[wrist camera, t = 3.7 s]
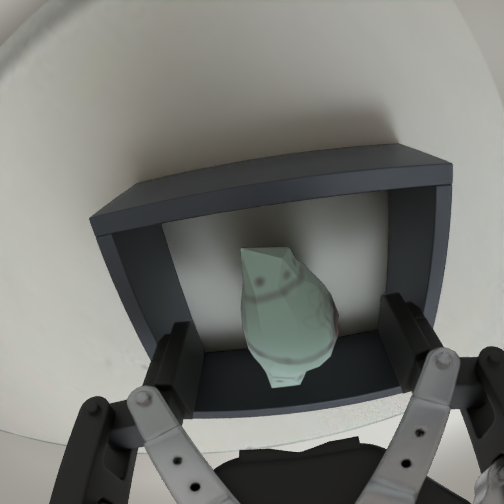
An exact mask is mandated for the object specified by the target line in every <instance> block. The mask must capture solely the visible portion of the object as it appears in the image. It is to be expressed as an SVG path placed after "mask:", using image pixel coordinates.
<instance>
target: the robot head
mask: <svg viewBox="0 0 504 504" xmlns="http://www.w3.org/2000/svg"><path fill="white" fill-rule="evenodd" d="M240 252H241V262H242V273H243V288H242V300H241V316H242V327H243V331H244V335H245V338H246V342H247V345H248V349H249V350H250V352H251V354H252V355H253V357H254V358H255V359H256V360H257V361H258V362H259V363H260V364H261V366H262V367H263V369H264V370H265V372H266V374H267V376H268V379H269V382H270V384H271V387H272V388H277V387H286V386H294V385H300V384H301V382H302V380H303V378H304V375H305V373H306V371H308V370H311V369H314V368H317V367H319V366H320V365H322V364H323V363H324V362H325V361H326V360H327V359H328V358H329V357H330V356H331V354H332V351H333V348H334V345H335V343H336V340H337V337H338V334H339V329H338V318H339V314H338V311H337V309H336V306H335V303H334V301H333V298H332V296H331V294H330V292H329V291H328V289H327V288H326V287H325V285H324V284H323V283H322V282H321V281H320V280H319V279H318V278H317V277H316V276H315V275H314V274H313V273H312V272H311V271H310V270H309V269H308V268H307V267H306V266H305V265H304V264H303V263H301V262H299V261H297V260H296V259H295V257H294V255H293V254H292V252H291V250H290V248H289V247H267V248H240Z"/></svg>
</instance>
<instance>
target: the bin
mask: <svg viewBox="0 0 504 504" xmlns="http://www.w3.org/2000/svg"><path fill="white" fill-rule="evenodd" d="M452 180H453V164H452V163H450V162H447V161H445V160H442V159H440V158H437V157H435V156H432V155H430V154H427V153H424V152H422V151H419V150H416V149H413V148H410V147H408V146H405V145H402V144H384V145H370V146H357V147H346V148H336V149H326V150H317V151H309V152H301V153H293V154H286V155H279V156H272V157H266V158H259V159H253V160H247V161H241V162H235V163H230V164H224V165H219V166H214V167H208V168H203V169H198V170H194V171H189V172H184V173H180V174H175V175H171V176H166V177H162V178H157V179H153V180H149V181H145V182H141V183H137V184H135V185H133V186H132V187H131V188H129V189H128V190H126V191H125V192H124V193H122V194H121V195H119V196H118V197H117V198H115V199H114V200H112V201H111V202H110V203H108V204H107V205H106V206H104V207H103V208H102V209H100V210H99V211H98V212H96V213H95V214H94V215H92V216H91V217H90V218H89V220H90V223H91V226H92V229H93V231H94V234H95V236H97V237H96V240H97V242H98V245H99V248H100V250H101V253H102V256H103V258H104V261H105V263H106V266H107V268H108V271H109V273H110V276H111V278H112V280H113V283H114V285H115V287H116V290H117V292H118V294H119V297H120V299H121V301H122V303H123V305H124V308H125V310H126V312H127V314H128V316H129V318H130V320H131V323H132V325H133V327H134V329H135V331H136V333H137V335H138V337H139V339H140V341H141V343H142V345H143V347H144V349H145V351H146V352H147V354H148V356H149V358H150V360H152V357H153V354H154V353H155V349H156V346H157V343H158V342H159V341H160V339H161V338H162V337H163V336H164V335H165V334H170V333H171V331H172V328H173V325H174V323H175V322H180V321H193V320H192V318H191V315H190V312H189V309H188V306H187V304H186V301H185V298H184V295H183V292H182V289H181V286H180V283H179V280H178V277H177V274H176V271H175V268H174V265H173V262H172V259H171V256H170V253H169V249H168V246H167V243H166V240H165V236H164V233H163V230H162V226H161V223H166V222H171V221H177V220H182V219H188V218H193V217H199V216H205V215H211V214H216V213H222V212H229V211H235V210H241V209H247V208H254V207H260V206H267V205H273V204H280V203H287V202H294V201H301V200H309V199H316V198H324V197H331V196H339V195H347V194H356V193H364V192H373V191H382V190H389V251H388V273H387V288H386V294H390V293H395V292H399V293H400V295H401V296H402V298H403V300H404V301H405V302H410V301H411V302H412V303H414V304H415V305H417V306H418V307H419V308H420V309H421V311H422V312H423V314H424V315H425V317H426V319H427V320H428V322H429V324H430V325H431V327H432V328H433V326H434V322H435V318H436V313H437V308H438V304H439V299H440V293H441V288H442V282H443V276H444V270H445V263H446V256H447V248H448V239H449V229H450V217H451V202H452ZM203 351H204V350H203ZM400 393H403V392H402V389H401V387H400V384H399V382H398V379H397V376H396V374H395V371H394V369H393V366H392V364H391V361H390V359H389V356H388V354H387V352H386V349H385V347H384V344H383V342H382V340H381V337H380V334H379V330H377V331H372V332H366V333H361V334H356V335H350V336H344V337H338V338H337V340H336V343H335V345H334V348H333V351H332V354H331V356H330V357H329V358H328V359H327V360H326V361H325V362H324V363H323V364H322V365H320V366H319V367H317V368H314V369H311V370H308V371H306V373H305V375H304V378H303V380H302V382H301V384H300V385H294V386H286V387H277V388H272V387H271V384H270V382H269V379H268V376H267V374H266V372H265V370H264V369H263V367H262V366H261V364H260V363H259V362H258V361H257V360H256V359H255V358H254V357H253V355H252V354H251V352H250V350H249V349H248V350H237V351H225V352H212V353H205V352H204V360H203V365H202V370H201V376H200V381H199V386H198V391H197V397H196V402H195V408H194V413H193V419H209V418H242V417H258V416H271V415H281V414H291V413H299V412H307V411H314V410H321V409H328V408H334V407H340V406H345V405H351V404H356V403H361V402H366V401H370V400H375V399H379V398H384V397H388V396H392V395H396V394H400Z"/></svg>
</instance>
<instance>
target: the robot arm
mask: <svg viewBox="0 0 504 504" xmlns="http://www.w3.org/2000/svg"><path fill="white" fill-rule="evenodd" d="M378 329H379V334H380V337H381V340H382V342H383V344H384V347H385V349H386V352H387V354H388V356H389V359H390V361H391V364H392V366H393V369H394V371H395V374H396V376H397V379H398V382H399V384H400V387H401V389H402V392H403V393H406V392H410V391H412V394H413V395H412V396H411V399H410V401H409V403H408V406H407V408H406V410H405V412H404V415H403V417H402V419H401V422H400V424H399V426H398V428H397V430H396V432H395V434H394V436H393V439H392V440H391V442H390V444H389V446H388V448H387V449H385V448H382V447H380V446H376V445H372V444H365V443H360V442H359V438H358V436H357V437H352V438H346V439H341V440H335V441H329V442H327V443H324V444H322V445H319V446H316V447H314V448H311V449H308V450H305V451H303V452H291V451H282V450H275V449H255V450H239V458H235V459H233V460H230V461H227V462H225V463H223V464H222V465H220V466H218V467H217V468H215V469H214V470H213V469H212V467H211V466H210V465H209V464H208V462H207V461H206V460H205V458H204V457H203V456H202V454H201V453H200V451H199V450H198V449H197V447H196V446H195V445H194V443H193V442H192V440H191V439H190V437H189V436H188V435H187V433H186V432H185V430H184V429H183V427H182V424H183V419H193V413H194V408H195V402H196V397H197V391H198V386H199V381H200V376H201V370H202V365H203V360H204V351H203V346H202V344H201V341H200V338H199V336H198V333H197V330H196V327H195V325H194V323H193V321H180V322H175V323H174V325H173V328H172V331H171V333H170V334H165V335H164V336H163V337H162V338H161V339H160V341H159V342H158V343H157V346H156V349H155V353H154V354H153V357H152V360H151V363H150V366H149V368H148V371H147V374H146V377H145V380H144V383H143V385H142V386H141V387H138V388H136V389H135V390H133V391H132V392H131V393H130V395H129V397H128V399H127V400H124V401H119V402H115V403H110V404H109V402H108V401H107V400H106V399H105V398H103V397H100V396H96V397H92V398H90V399H88V400H86V401H85V402H84V403H83V405H82V406H81V408H80V411H79V414H78V416H77V419H76V422H75V424H74V427H73V430H72V433H71V435H70V438H69V441H68V444H67V447H66V450H65V453H64V456H63V459H62V462H61V465H60V468H59V472H58V475H57V478H56V482H55V485H54V488H53V492H52V495H51V500H50V503H49V504H128V499H129V493H130V488H131V482H132V476H133V471H134V466H135V461H136V456H137V451H138V448H139V447H145V449H146V451H147V453H148V455H149V457H150V459H151V460H152V462H153V464H154V466H155V468H156V469H157V471H158V473H159V475H160V476H161V478H162V480H163V481H164V483H165V485H166V486H167V488H168V490H169V491H170V493H171V495H172V496H173V498H174V499H175V501H176V502H177V504H471V503H470V502H469V501H467V500H466V499H464V498H462V497H460V496H459V495H457V494H455V493H454V492H452V491H450V490H449V489H447V488H445V487H444V486H442V485H441V484H439V483H437V482H436V481H434V480H433V479H431V478H429V477H428V476H426V475H427V473H428V471H429V469H430V466H431V464H432V461H433V459H434V456H435V454H436V451H437V449H438V446H439V443H440V441H441V438H442V435H443V432H444V429H445V426H446V423H447V420H448V417H449V414H450V410H451V409H460V411H461V414H462V416H463V419H464V422H465V424H466V427H467V430H468V433H469V436H470V439H471V442H472V445H473V448H474V451H475V454H476V458H477V461H478V464H479V468H480V471H481V475H480V476H479V477H478V479H477V481H476V483H475V498H474V502H473V504H504V351H503V350H502V349H500V348H498V347H493V346H490V347H486V348H484V349H483V350H482V351H481V352H480V354H479V356H478V357H459V356H458V354H457V353H456V352H455V351H453V350H451V349H449V348H444V347H443V345H442V343H441V342H440V340H439V338H438V337H437V335H436V333H435V332H434V330H433V328H432V327H431V325H430V324H429V322H428V320H427V319H426V317H425V315H424V314H423V312H422V311H421V309H420V308H419V307H418V306H417V305H415V304H414V303H412V302H411V301H410V302H405V301H404V300H403V298H402V296H401V295H400V293H399V292H395V293H390V294H384V295H381V298H380V308H379V319H378Z"/></svg>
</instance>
